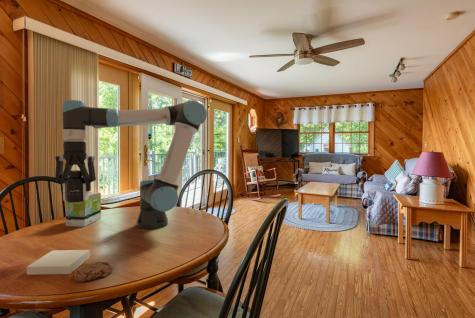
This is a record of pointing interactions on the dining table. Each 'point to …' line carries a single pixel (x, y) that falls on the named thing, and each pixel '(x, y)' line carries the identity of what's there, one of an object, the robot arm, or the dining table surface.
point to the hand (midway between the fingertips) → (76, 199)
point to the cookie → (92, 271)
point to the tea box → (84, 211)
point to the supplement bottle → (74, 186)
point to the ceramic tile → (58, 262)
